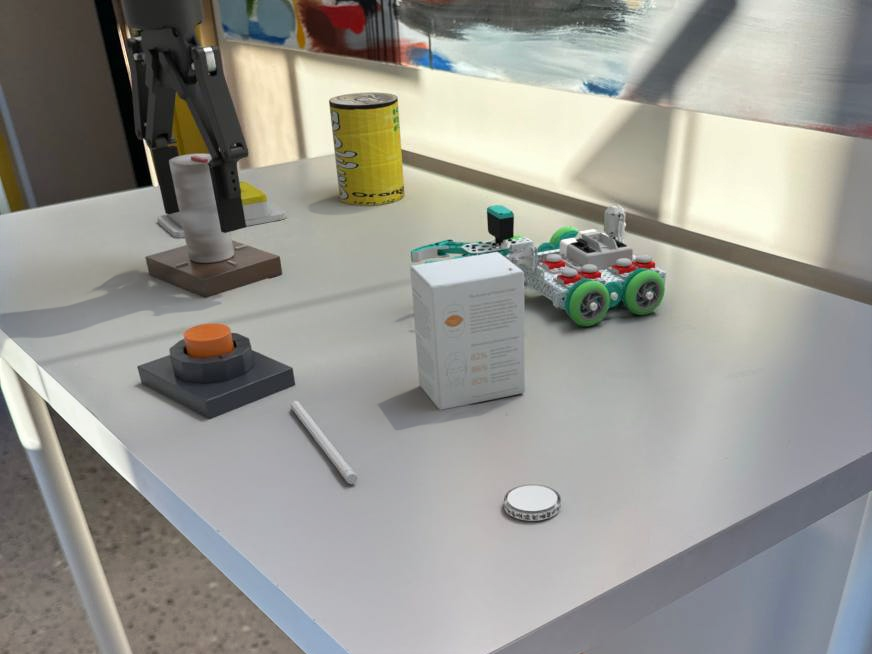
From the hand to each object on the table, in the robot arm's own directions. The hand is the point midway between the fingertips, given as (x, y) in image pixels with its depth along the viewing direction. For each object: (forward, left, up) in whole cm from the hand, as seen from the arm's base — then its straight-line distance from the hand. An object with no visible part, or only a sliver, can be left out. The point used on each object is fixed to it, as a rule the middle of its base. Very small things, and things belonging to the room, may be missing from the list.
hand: (204, 220), depth 106 cm
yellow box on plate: (-18, +13, -6) cm, 23 cm away
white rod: (+42, -18, -6) cm, 46 cm away
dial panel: (0, 0, -6) cm, 6 cm away
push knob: (+26, -17, -3) cm, 31 cm away
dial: (0, 0, -4) cm, 4 cm away
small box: (+44, -3, -6) cm, 45 cm away
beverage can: (-11, +33, -6) cm, 35 cm away
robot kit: (+34, +17, -6) cm, 38 cm away
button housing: (+26, -17, -6) cm, 32 cm away
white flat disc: (+61, -14, -6) cm, 63 cm away
